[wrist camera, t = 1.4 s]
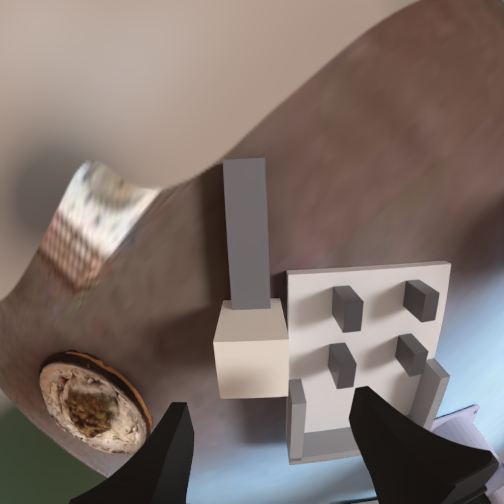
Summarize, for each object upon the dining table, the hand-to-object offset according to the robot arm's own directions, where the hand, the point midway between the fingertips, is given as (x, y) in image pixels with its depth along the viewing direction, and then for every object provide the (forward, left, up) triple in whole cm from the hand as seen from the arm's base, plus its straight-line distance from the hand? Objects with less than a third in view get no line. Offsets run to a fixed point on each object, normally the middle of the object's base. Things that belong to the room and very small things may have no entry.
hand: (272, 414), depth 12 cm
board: (-5, -8, -10) cm, 14 cm away
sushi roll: (-10, +17, -11) cm, 22 cm away
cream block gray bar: (+4, +1, -10) cm, 11 cm away
